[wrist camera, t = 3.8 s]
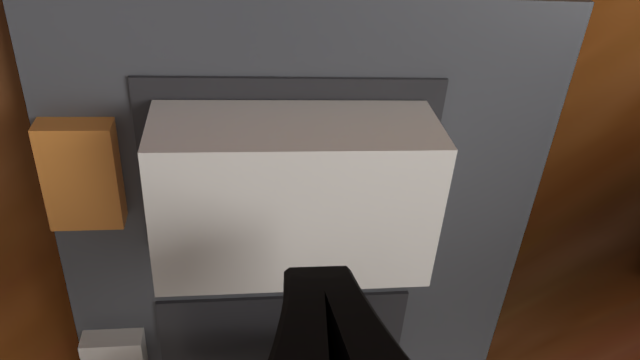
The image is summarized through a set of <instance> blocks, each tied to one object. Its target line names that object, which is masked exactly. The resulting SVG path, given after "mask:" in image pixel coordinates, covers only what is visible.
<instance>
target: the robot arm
mask: <svg viewBox="0 0 640 360" xmlns="http://www.w3.org/2000/svg"><path fill="white" fill-rule="evenodd" d="M268 360H410V358H409V357H408V356H407V355H406V353H405V352H404V351H403V350H402V348H401V347H400V346H399V344H398V343H397V342H396V340H395V339H394V337H393V336H392V335H391V333H390V332H389V331H388V329H387V328H386V326H385V325H384V324H383V322H382V321H381V319H380V318H379V316H378V315H377V313H376V312H375V310H374V309H373V307H372V306H371V304H370V302H369V301H368V299H367V298H366V296H365V295H364V293H363V291H362V290H361V288H360V286H359V284H358V283H357V281H356V279H355V277H354V275H353V274H352V272H351V270H350V269H349V268H348V267H347V266H318V267H289V268H288V269H287V270H285V271H284V283H283V304H282V309H281V315H280V319H279V323H278V327H277V331H276V334H275V338H274V342H273V345H272V349H271V352H270V355H269V358H268Z"/></svg>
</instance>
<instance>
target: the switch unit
mask: <svg viewBox="0 0 640 360" xmlns="http://www.w3.org/2000/svg"><path fill="white" fill-rule="evenodd" d="M2 1H3V5H4V10H5V14H6V18H7V23H8V27H9V32H10V36H11V41H12V45H13V50H14V54H15V59H16V63H17V68H18V72H19V76H20V81H21V85H22V90H23V94H24V99H25V103H26V108H27V112H28V117H29V121H30V125H31V127H30V128H29V130H28V134H29V138H30V142H31V147H32V151H33V156H34V160H35V164H36V169H37V173H38V178H39V182H40V186H41V191H42V195H43V199H44V204H45V208H46V213H47V217H48V221H49V226H50V230H51V231H54V233H55V237H56V241H57V246H58V250H59V255H60V259H61V264H62V268H63V273H64V277H65V282H66V286H67V290H68V295H69V299H70V304H71V308H72V313H73V317H74V322H75V326H76V331H77V335H78V340H79V345H78V353H79V357H80V360H268V358H269V355H270V352H271V349H272V345H273V342H274V338H275V334H276V331H277V327H278V323H279V319H280V315H281V309H282V304H283V292H274V293H249V294H224V295H199V296H174V297H155V294H154V286H153V277H152V269H151V261H150V252H149V244H148V236H147V227H146V219H145V211H144V202H143V194H142V186H141V177H140V169H139V161H138V150H139V146H140V142H141V138H142V135H143V131H144V127H145V123H146V120H147V116H148V112H149V108H150V105H151V101H152V100H404V101H427V102H428V103H429V105H430V107H431V108H432V110H433V111H434V113H435V115H436V116H437V118H438V119H439V121H440V123H441V124H442V126H443V127H444V129H445V131H446V132H447V134H448V135H449V137H450V139H451V140H452V142H453V143H454V145H455V147H456V148H457V150H458V152H457V156H456V161H455V166H454V171H453V175H452V180H451V185H450V190H449V194H448V199H447V204H446V209H445V214H444V218H443V223H442V228H441V233H440V237H439V242H438V247H437V252H436V256H435V261H434V266H433V271H432V276H431V280H430V285H429V286H425V287H400V288H374V289H361V290H362V291H363V293H364V295H365V296H366V298H367V299H368V301H369V302H370V304H371V306H372V307H373V309H374V310H375V312H376V313H377V315H378V316H379V318H380V319H381V321H382V322H383V324H384V325H385V326H386V328H387V329H388V331H389V332H390V333H391V335H392V336H393V337H394V339H395V340H396V342H397V343H398V344H399V346H400V347H401V348H402V350H403V351H404V352H405V353H406V355H407V356H408V357H409V358H410V360H486V357H487V354H488V351H489V347H490V344H491V341H492V337H493V334H494V331H495V328H496V324H497V321H498V318H499V314H500V311H501V308H502V305H503V301H504V298H505V295H506V291H507V288H508V285H509V282H510V278H511V275H512V272H513V268H514V265H515V262H516V259H517V255H518V252H519V249H520V245H521V242H522V239H523V235H524V232H525V229H526V226H527V222H528V219H529V216H530V212H531V209H532V206H533V203H534V199H535V196H536V193H537V189H538V186H539V183H540V180H541V176H542V173H543V170H544V166H545V163H546V160H547V157H548V153H549V150H550V147H551V143H552V140H553V137H554V133H555V130H556V127H557V124H558V120H559V117H560V114H561V110H562V107H563V104H564V101H565V97H566V94H567V91H568V87H569V84H570V81H571V78H572V74H573V71H574V68H575V64H576V61H577V58H578V55H579V51H580V48H581V45H582V41H583V38H584V35H585V32H586V28H587V25H588V22H589V18H590V15H591V12H592V8H593V5H594V2H593V1H591V0H2Z"/></svg>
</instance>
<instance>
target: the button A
mask: <svg viewBox="0 0 640 360" xmlns="http://www.w3.org/2000/svg"><path fill="white" fill-rule="evenodd" d="M457 152H458V150H457V148H456V147H455V145H454V143H453V142H452V140H451V139H450V137H449V135H448V134H447V132H446V131H445V129H444V127H443V126H442V124H441V123H440V121H439V119H438V118H437V116H436V115H435V113H434V111H433V110H432V108H431V107H430V105H429V103H428V102H427V101H404V100H152V101H151V105H150V108H149V112H148V116H147V120H146V123H145V127H144V131H143V135H142V138H141V142H140V146H139V150H138V161H139V169H140V177H141V186H142V194H143V202H144V211H145V219H146V227H147V236H148V244H149V252H150V261H151V269H152V277H153V286H154V294H155V297H174V296H199V295H224V294H249V293H274V292H283V283H284V271H285V270H287V269H288V268H289V267H318V266H347V267H348V268H349V269H350V270H351V272H352V274H353V275H354V277H355V279H356V281H357V283H358V284H359V286H360V288H361V289H374V288H400V287H425V286H429V285H430V280H431V276H432V271H433V266H434V261H435V256H436V252H437V247H438V242H439V237H440V233H441V228H442V223H443V218H444V214H445V209H446V204H447V199H448V194H449V190H450V185H451V180H452V175H453V171H454V166H455V161H456V156H457Z"/></svg>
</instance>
